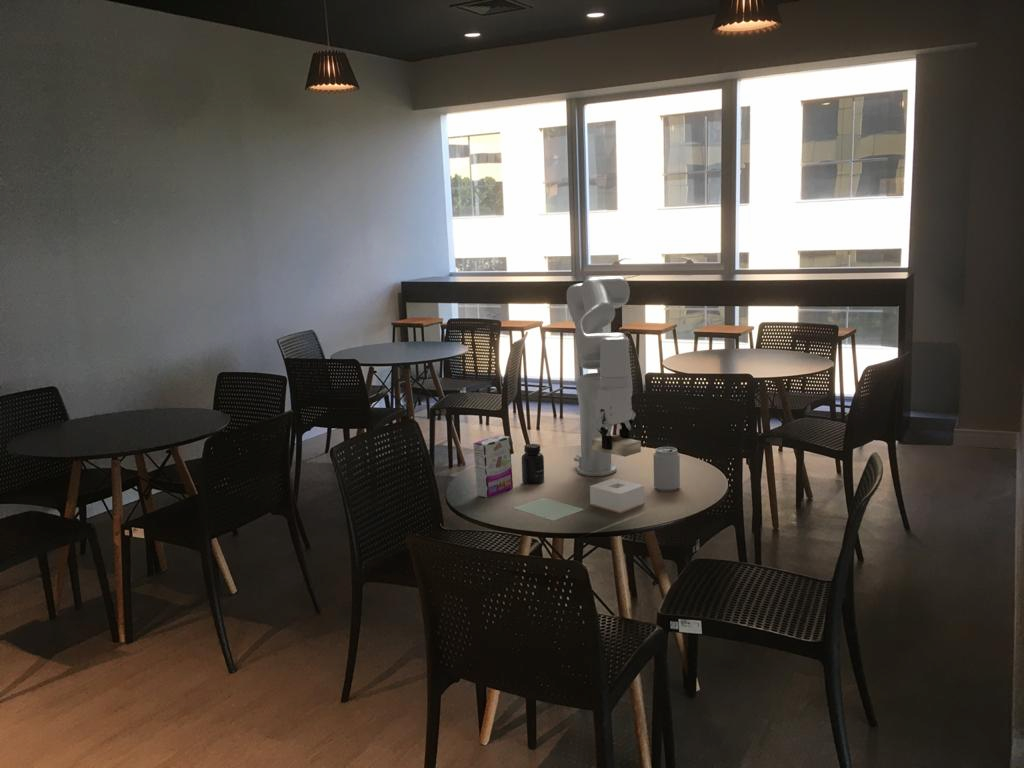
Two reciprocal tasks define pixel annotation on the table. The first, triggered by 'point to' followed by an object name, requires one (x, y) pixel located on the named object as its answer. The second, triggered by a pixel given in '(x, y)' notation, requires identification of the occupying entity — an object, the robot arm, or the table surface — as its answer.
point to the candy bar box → (493, 466)
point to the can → (666, 469)
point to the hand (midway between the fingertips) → (615, 446)
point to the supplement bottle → (532, 465)
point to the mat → (548, 509)
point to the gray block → (617, 495)
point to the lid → (618, 446)
